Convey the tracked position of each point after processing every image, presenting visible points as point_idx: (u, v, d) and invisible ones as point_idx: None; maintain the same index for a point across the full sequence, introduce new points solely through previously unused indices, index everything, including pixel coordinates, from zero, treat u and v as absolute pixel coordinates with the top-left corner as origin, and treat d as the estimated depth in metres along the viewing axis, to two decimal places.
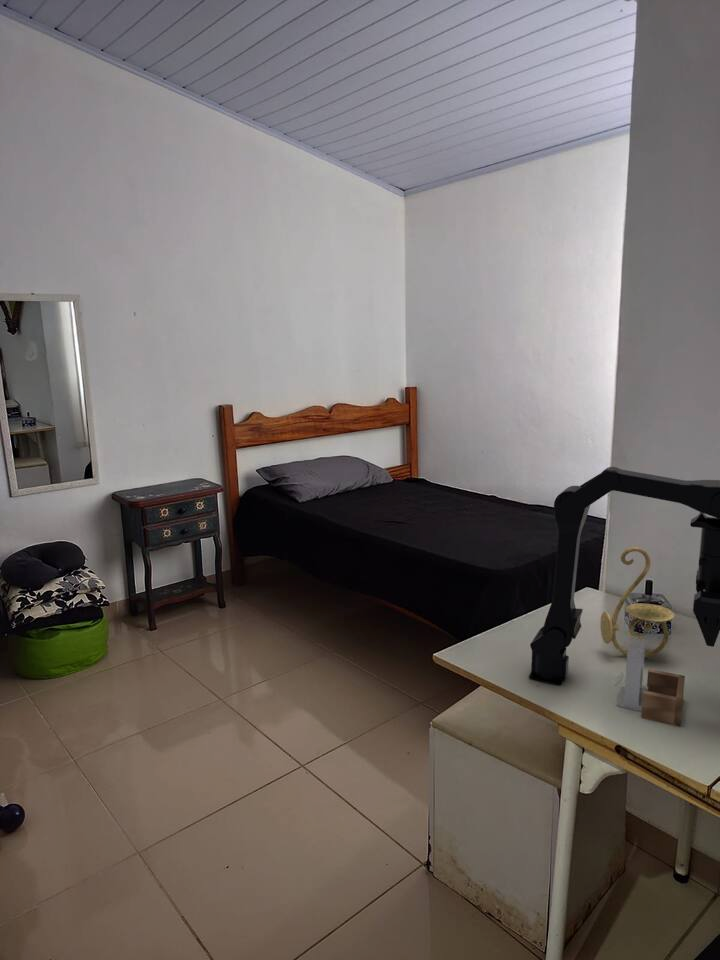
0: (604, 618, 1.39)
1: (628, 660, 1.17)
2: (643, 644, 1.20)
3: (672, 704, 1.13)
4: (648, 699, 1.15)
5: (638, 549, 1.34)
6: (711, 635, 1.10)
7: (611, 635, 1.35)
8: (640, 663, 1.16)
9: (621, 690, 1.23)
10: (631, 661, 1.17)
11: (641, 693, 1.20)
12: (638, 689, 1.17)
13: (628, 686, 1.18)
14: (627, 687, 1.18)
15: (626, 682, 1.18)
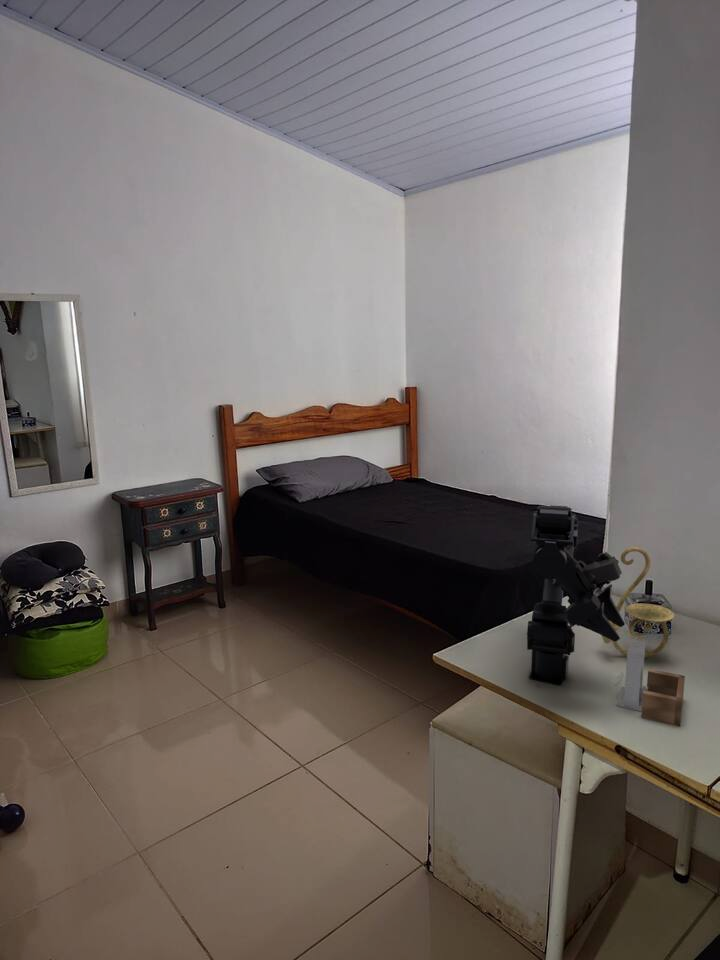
0: None
1: (628, 660, 1.17)
2: (643, 644, 1.20)
3: (672, 704, 1.13)
4: (648, 699, 1.15)
5: (638, 549, 1.34)
6: (608, 631, 1.16)
7: None
8: (640, 663, 1.16)
9: (621, 690, 1.23)
10: (631, 661, 1.17)
11: (641, 693, 1.20)
12: (638, 689, 1.17)
13: (628, 686, 1.18)
14: (627, 687, 1.18)
15: (626, 682, 1.18)
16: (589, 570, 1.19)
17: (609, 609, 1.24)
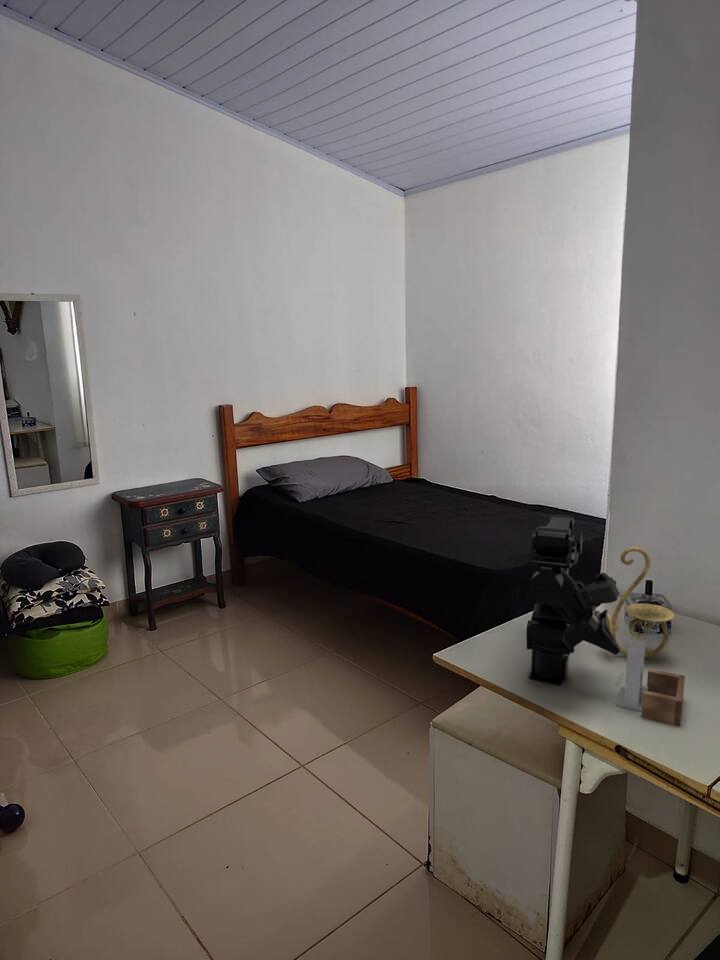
0: None
1: (628, 660, 1.17)
2: (643, 644, 1.20)
3: (672, 704, 1.13)
4: (648, 699, 1.15)
5: (638, 549, 1.34)
6: (608, 645, 1.21)
7: None
8: (640, 663, 1.16)
9: (621, 690, 1.23)
10: (631, 661, 1.17)
11: (641, 693, 1.20)
12: (638, 689, 1.17)
13: (628, 686, 1.18)
14: (627, 687, 1.18)
15: (626, 682, 1.18)
16: (587, 592, 1.20)
17: None
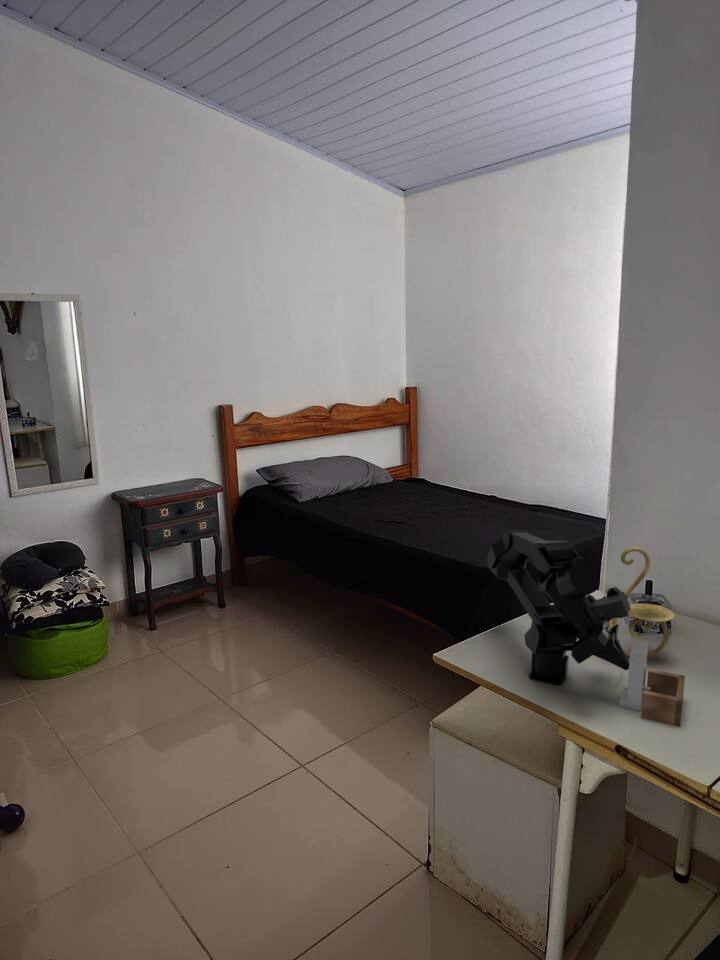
0: None
1: (631, 661, 1.17)
2: (646, 645, 1.20)
3: (672, 704, 1.13)
4: (648, 699, 1.15)
5: (638, 549, 1.34)
6: (619, 660, 1.20)
7: None
8: (643, 664, 1.16)
9: (624, 691, 1.23)
10: (634, 662, 1.17)
11: None
12: (641, 690, 1.17)
13: (631, 686, 1.18)
14: (630, 688, 1.18)
15: (629, 683, 1.18)
16: (597, 606, 1.19)
17: None
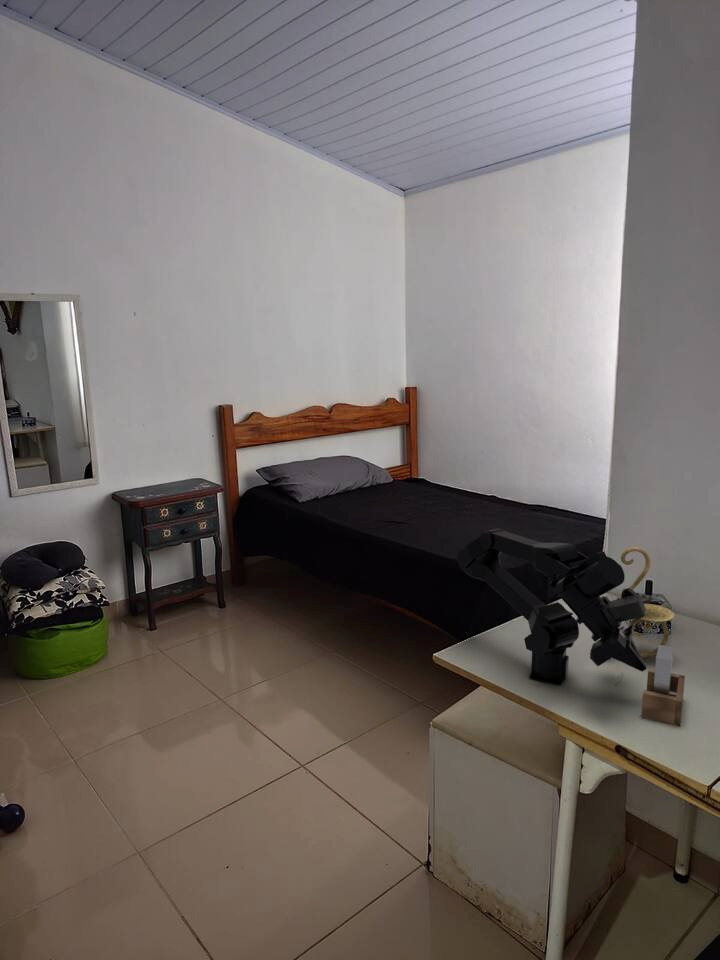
0: None
1: (657, 666, 1.15)
2: (671, 649, 1.18)
3: (672, 704, 1.13)
4: (648, 699, 1.15)
5: (638, 549, 1.34)
6: (635, 661, 1.19)
7: None
8: (669, 669, 1.14)
9: None
10: (660, 667, 1.15)
11: None
12: None
13: (656, 692, 1.16)
14: None
15: (654, 688, 1.16)
16: (614, 608, 1.18)
17: None
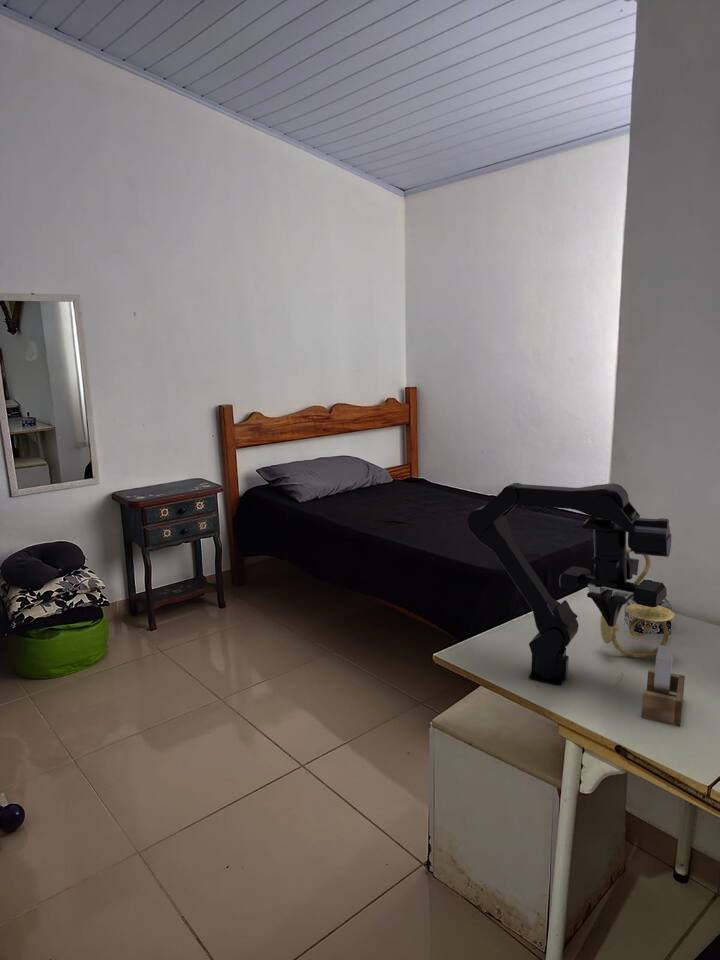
0: None
1: (657, 666, 1.15)
2: (671, 649, 1.18)
3: (672, 704, 1.13)
4: (648, 699, 1.15)
5: None
6: (616, 616, 1.24)
7: (611, 635, 1.35)
8: (669, 669, 1.14)
9: None
10: (660, 667, 1.15)
11: None
12: None
13: (656, 692, 1.16)
14: None
15: (654, 688, 1.16)
16: (631, 560, 1.23)
17: None
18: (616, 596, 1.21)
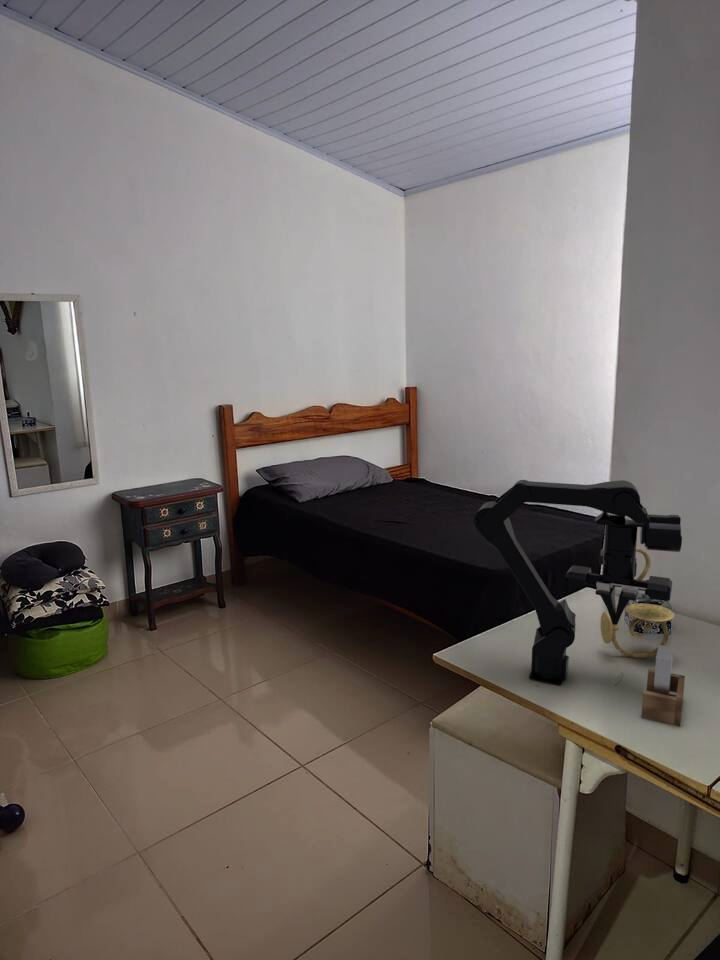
0: (604, 618, 1.39)
1: (657, 666, 1.15)
2: (671, 649, 1.18)
3: (672, 704, 1.13)
4: (648, 699, 1.15)
5: (638, 549, 1.34)
6: None
7: (611, 635, 1.35)
8: (669, 669, 1.14)
9: None
10: (660, 667, 1.15)
11: None
12: None
13: (656, 692, 1.16)
14: None
15: (654, 688, 1.16)
16: None
17: (614, 605, 1.25)
18: (625, 592, 1.22)
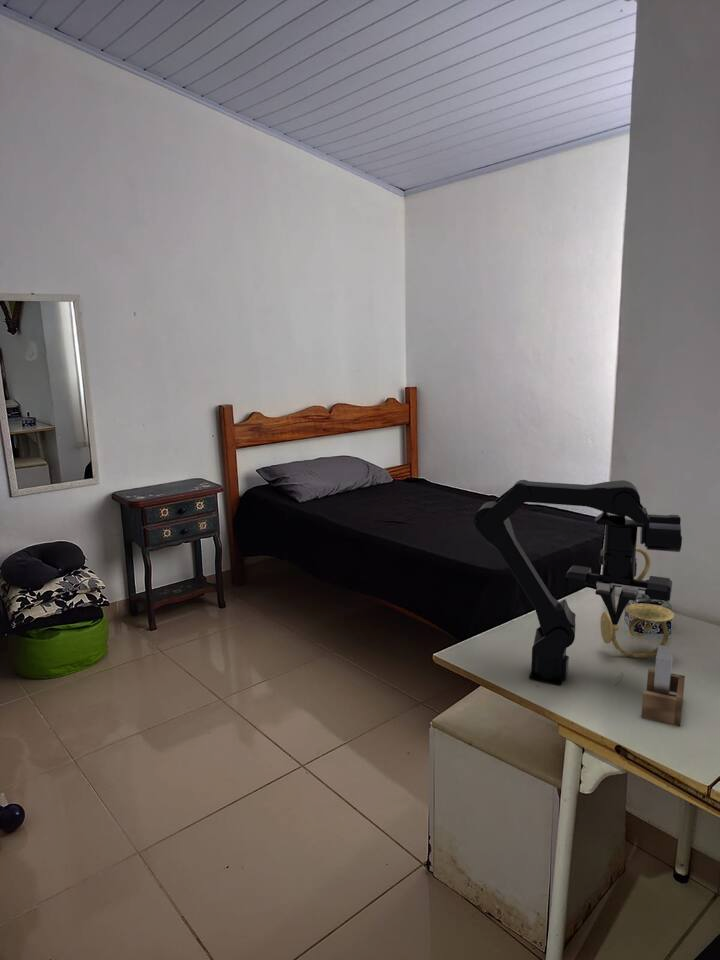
0: (604, 618, 1.39)
1: (657, 666, 1.15)
2: (671, 649, 1.18)
3: (672, 704, 1.13)
4: (648, 699, 1.15)
5: (638, 549, 1.34)
6: None
7: (611, 635, 1.35)
8: (669, 669, 1.14)
9: None
10: (660, 667, 1.15)
11: None
12: None
13: (656, 692, 1.16)
14: None
15: (654, 688, 1.16)
16: None
17: (614, 605, 1.25)
18: (625, 592, 1.22)
